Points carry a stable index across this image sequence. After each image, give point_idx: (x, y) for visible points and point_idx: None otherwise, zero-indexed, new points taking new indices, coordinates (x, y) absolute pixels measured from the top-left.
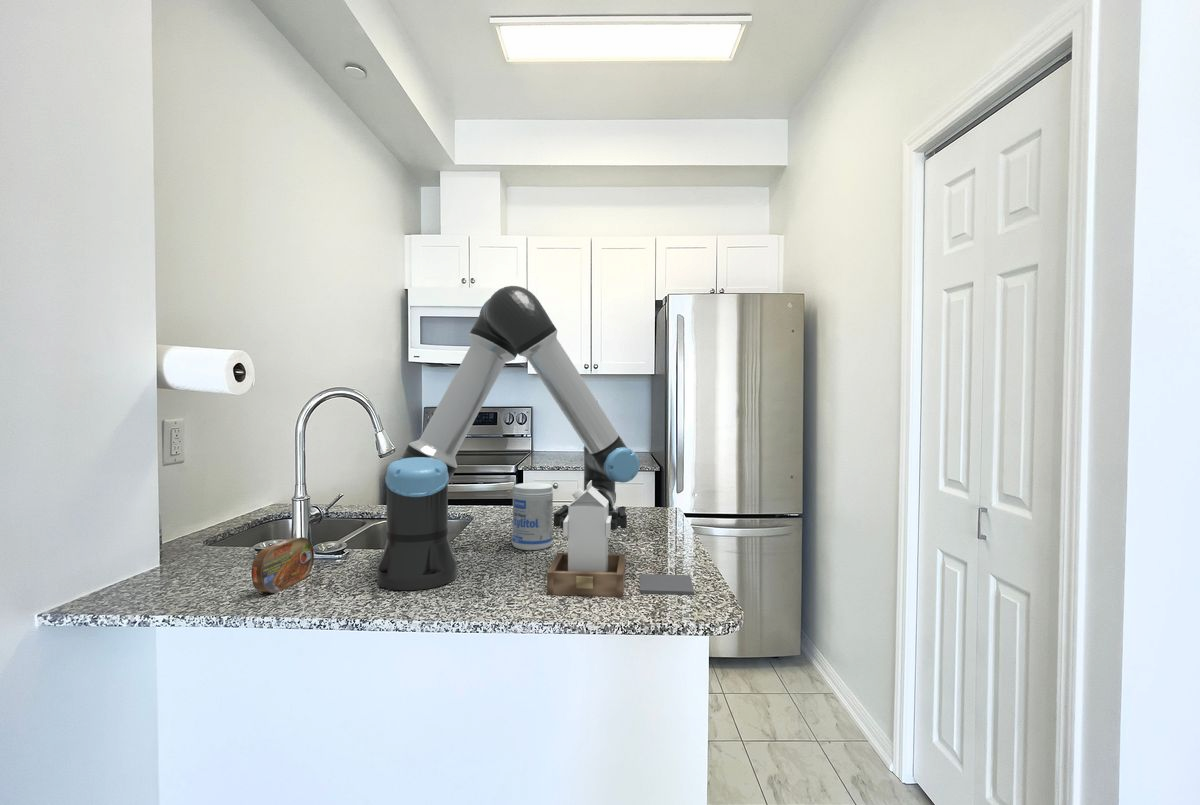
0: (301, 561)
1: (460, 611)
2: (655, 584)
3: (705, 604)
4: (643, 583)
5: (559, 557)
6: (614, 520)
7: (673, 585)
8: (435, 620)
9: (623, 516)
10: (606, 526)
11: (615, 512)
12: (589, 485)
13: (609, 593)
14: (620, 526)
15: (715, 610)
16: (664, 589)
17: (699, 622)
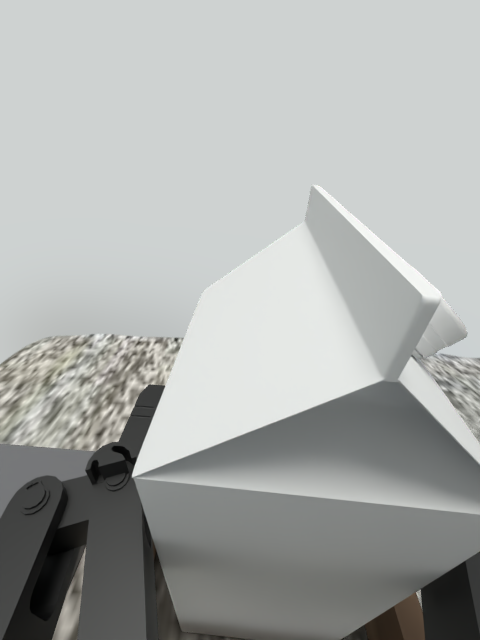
0: None
1: (436, 377)
2: None
3: (14, 396)
4: None
5: (408, 628)
6: (140, 431)
7: (1, 493)
8: (440, 354)
9: (52, 477)
10: None
11: (110, 450)
12: (327, 226)
13: None
14: (76, 555)
15: (21, 372)
16: (52, 458)
17: (83, 339)
